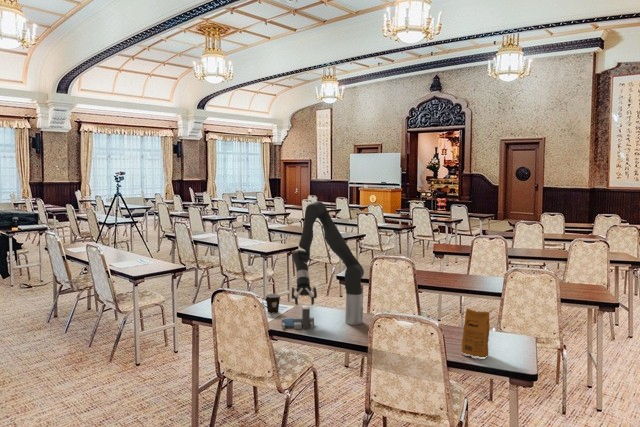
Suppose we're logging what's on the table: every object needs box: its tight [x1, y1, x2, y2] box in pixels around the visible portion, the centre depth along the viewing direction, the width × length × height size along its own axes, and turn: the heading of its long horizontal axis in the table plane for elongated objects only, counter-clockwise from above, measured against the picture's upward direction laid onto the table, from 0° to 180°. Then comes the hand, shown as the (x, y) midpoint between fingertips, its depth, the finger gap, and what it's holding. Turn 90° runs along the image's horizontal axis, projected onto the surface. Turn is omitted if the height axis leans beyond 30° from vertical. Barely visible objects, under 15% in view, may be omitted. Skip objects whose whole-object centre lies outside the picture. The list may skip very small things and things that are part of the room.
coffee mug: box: [261, 293, 281, 314], centre depth 295 cm, size 12×9×10 cm
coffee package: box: [461, 308, 490, 357], centre depth 229 cm, size 10×12×22 cm
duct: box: [280, 316, 315, 330], centre depth 268 cm, size 18×7×4 cm, turn 98°
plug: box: [301, 304, 311, 330], centre depth 266 cm, size 4×4×12 cm
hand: (304, 304), depth 271 cm, fingers open, 8 cm apart
